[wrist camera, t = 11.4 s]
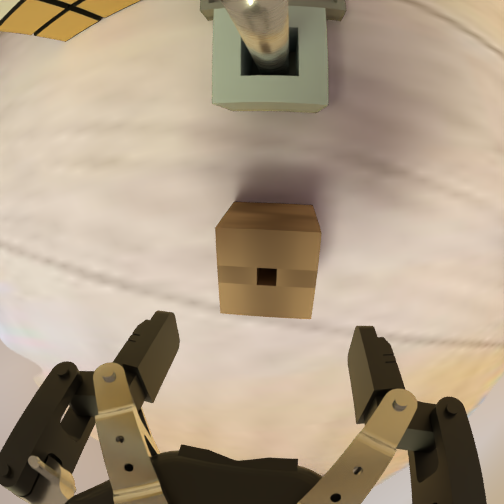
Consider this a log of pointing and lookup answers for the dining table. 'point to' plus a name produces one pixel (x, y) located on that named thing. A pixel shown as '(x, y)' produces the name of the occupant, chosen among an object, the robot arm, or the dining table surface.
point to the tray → (332, 3)
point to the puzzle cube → (55, 16)
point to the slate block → (272, 86)
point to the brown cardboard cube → (268, 259)
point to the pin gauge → (263, 32)
